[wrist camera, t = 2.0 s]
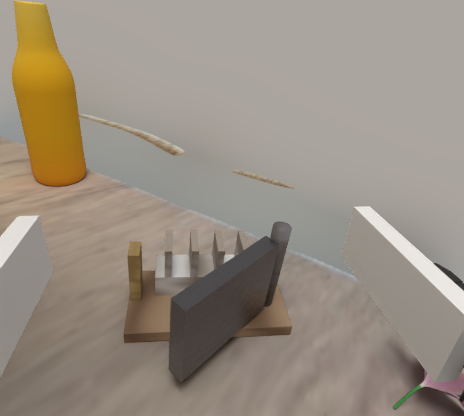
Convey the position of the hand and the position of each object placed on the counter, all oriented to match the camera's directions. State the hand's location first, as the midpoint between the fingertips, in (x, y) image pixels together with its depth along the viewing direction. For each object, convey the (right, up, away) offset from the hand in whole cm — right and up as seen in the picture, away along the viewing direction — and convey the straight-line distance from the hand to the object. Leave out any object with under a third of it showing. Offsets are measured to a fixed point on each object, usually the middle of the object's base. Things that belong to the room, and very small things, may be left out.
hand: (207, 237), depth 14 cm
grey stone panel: (0, -13, +22) cm, 25 cm away
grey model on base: (-2, -11, +28) cm, 30 cm away
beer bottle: (-32, +7, +50) cm, 60 cm away
